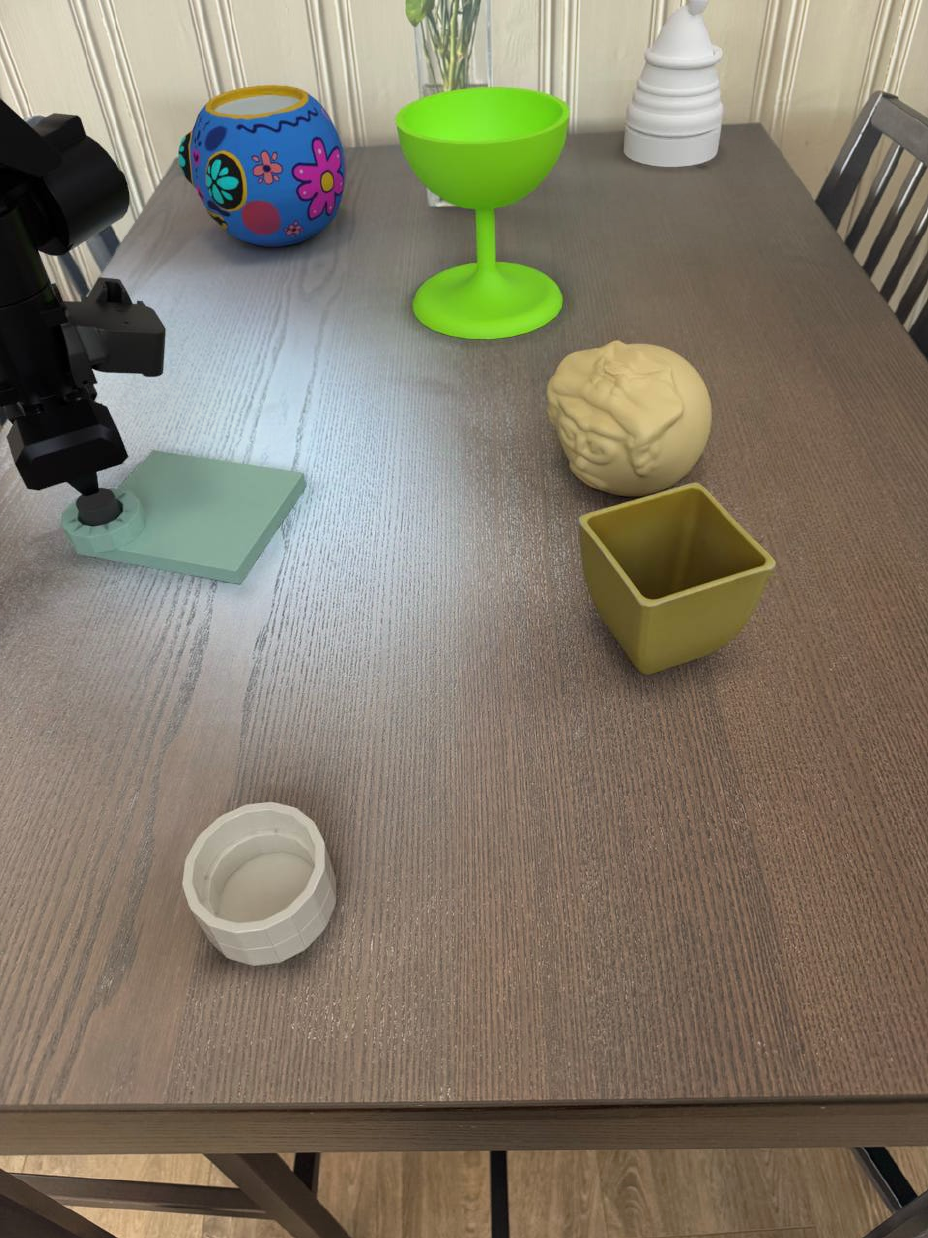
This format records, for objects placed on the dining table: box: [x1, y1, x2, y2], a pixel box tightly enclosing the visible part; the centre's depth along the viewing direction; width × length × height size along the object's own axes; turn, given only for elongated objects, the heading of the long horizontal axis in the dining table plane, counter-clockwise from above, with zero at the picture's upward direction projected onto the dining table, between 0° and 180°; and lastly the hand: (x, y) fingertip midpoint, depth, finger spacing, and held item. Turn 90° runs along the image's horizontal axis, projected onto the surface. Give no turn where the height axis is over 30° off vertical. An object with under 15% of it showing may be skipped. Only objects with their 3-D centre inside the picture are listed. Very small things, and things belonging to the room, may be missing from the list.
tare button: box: [76, 487, 121, 527], centre depth 65 cm, size 3×3×2 cm
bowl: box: [181, 801, 337, 967], centre depth 45 cm, size 7×7×4 cm
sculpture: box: [546, 339, 713, 498], centre depth 67 cm, size 12×12×11 cm
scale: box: [60, 449, 307, 585], centre depth 68 cm, size 15×13×3 cm
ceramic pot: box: [177, 84, 347, 247], centre depth 101 cm, size 18×18×15 cm
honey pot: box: [623, 0, 725, 168], centre depth 114 cm, size 13×13×18 cm
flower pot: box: [577, 482, 777, 676], centre depth 55 cm, size 9×9×9 cm
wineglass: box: [394, 86, 571, 340], centre depth 86 cm, size 16×16×18 cm
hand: (91, 491), depth 64 cm, fingers closed
